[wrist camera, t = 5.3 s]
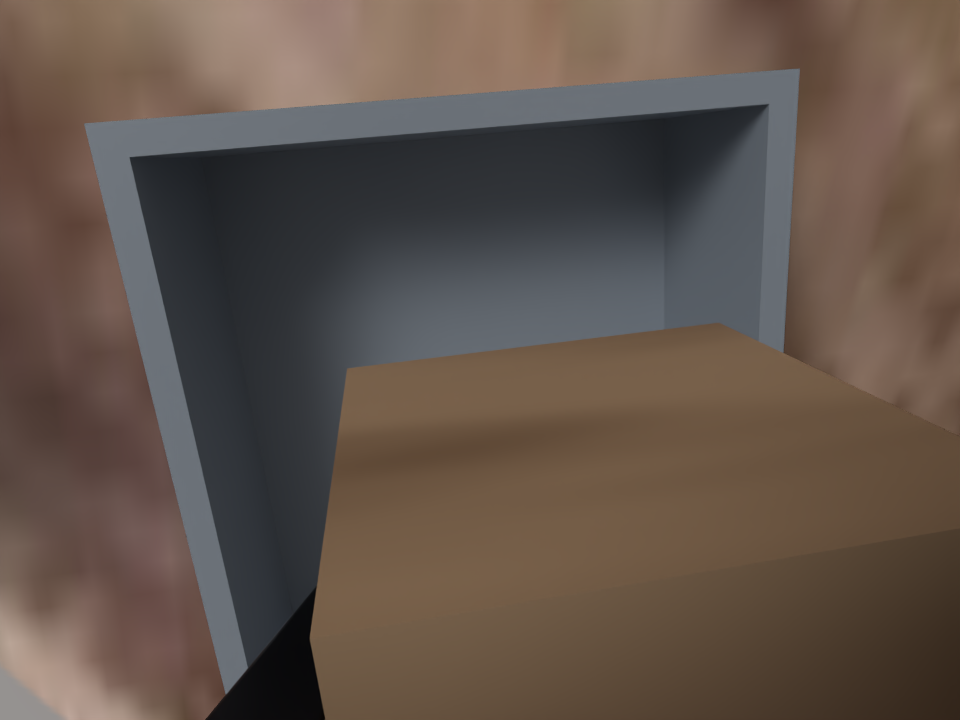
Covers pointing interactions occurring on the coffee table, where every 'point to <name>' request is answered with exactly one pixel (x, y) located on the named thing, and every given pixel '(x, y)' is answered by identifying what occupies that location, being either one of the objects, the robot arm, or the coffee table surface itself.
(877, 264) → the coffee table surface
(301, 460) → the box
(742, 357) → the walnut cube
